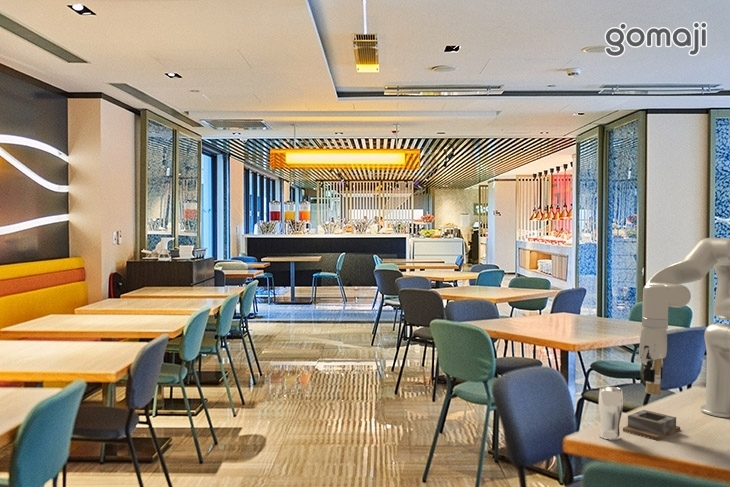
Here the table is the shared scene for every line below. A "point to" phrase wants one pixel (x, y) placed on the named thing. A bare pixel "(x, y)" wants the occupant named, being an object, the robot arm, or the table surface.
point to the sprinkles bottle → (655, 386)
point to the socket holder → (651, 424)
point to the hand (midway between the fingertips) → (653, 379)
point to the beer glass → (610, 412)
